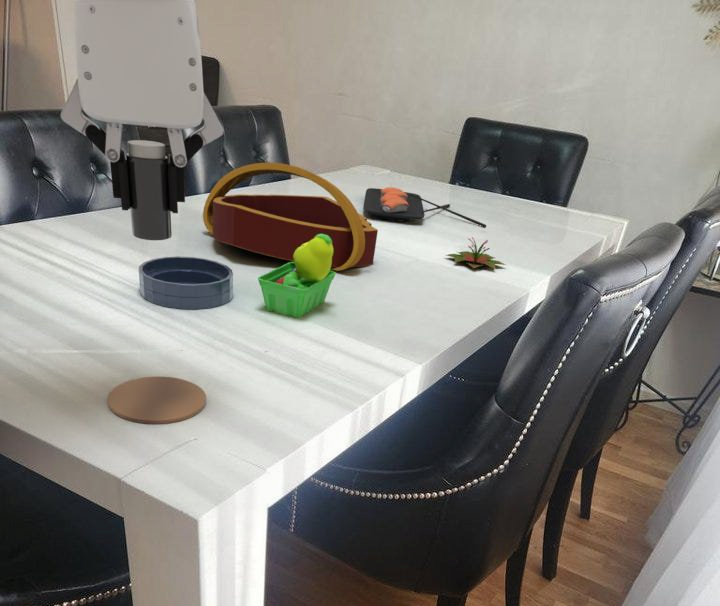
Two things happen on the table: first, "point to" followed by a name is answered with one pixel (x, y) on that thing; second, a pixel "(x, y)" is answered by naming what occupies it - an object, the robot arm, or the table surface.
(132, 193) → the salt shaker
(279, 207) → the decorative basket
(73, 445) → the table surface
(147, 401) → the cork coaster
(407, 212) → the sushi plate
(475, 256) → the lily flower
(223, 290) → the bowl
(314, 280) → the fruit basket
